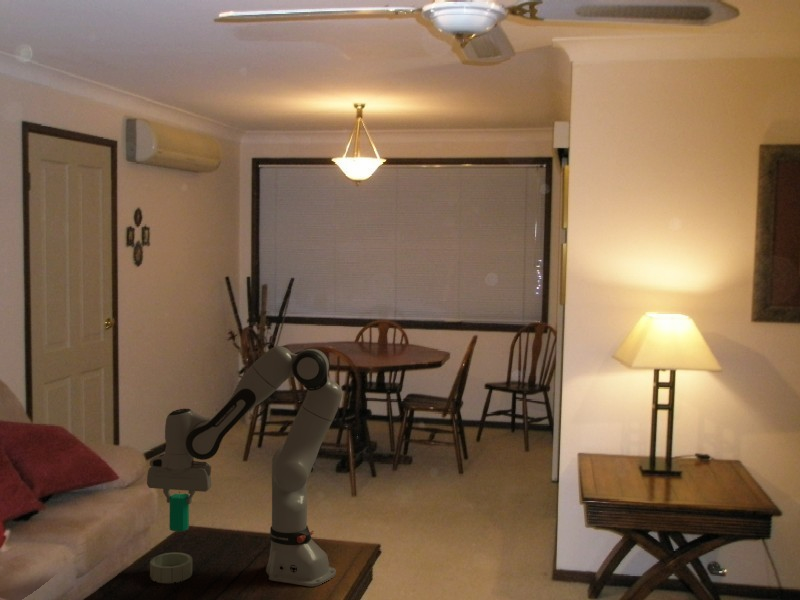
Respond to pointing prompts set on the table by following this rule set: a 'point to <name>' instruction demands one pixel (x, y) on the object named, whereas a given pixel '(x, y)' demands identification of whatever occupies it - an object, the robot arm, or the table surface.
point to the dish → (171, 567)
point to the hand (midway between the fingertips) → (179, 502)
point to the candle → (179, 512)
